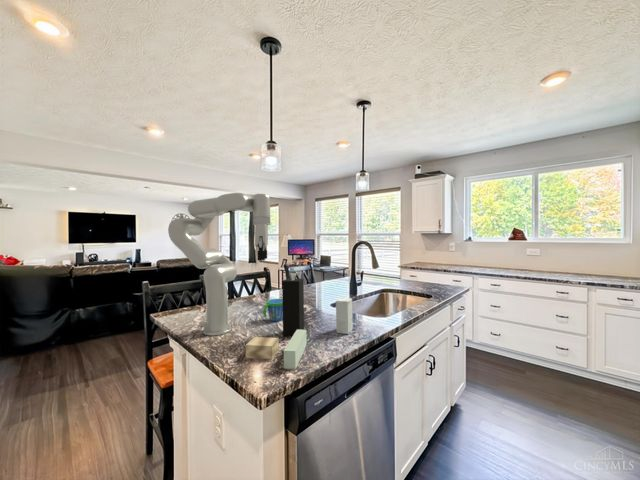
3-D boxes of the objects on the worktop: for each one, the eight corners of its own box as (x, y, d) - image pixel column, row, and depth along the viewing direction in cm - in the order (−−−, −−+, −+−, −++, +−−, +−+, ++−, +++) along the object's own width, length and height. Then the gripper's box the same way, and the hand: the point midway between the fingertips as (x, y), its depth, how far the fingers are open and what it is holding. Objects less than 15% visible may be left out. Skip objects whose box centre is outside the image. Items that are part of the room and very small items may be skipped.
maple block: (245, 358, 98) (245, 344, 98) (254, 349, 106) (254, 336, 106) (272, 359, 97) (271, 346, 97) (278, 350, 105) (278, 337, 105)
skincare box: (348, 334, 120) (348, 301, 120) (335, 333, 123) (335, 300, 122) (353, 328, 128) (352, 297, 128) (341, 327, 130) (340, 297, 130)
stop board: (283, 368, 90) (283, 350, 90) (297, 343, 110) (296, 329, 110) (295, 369, 89) (295, 351, 89) (306, 344, 110) (306, 329, 110)
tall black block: (299, 337, 118) (298, 273, 118) (282, 336, 119) (281, 273, 119) (304, 331, 125) (303, 271, 125) (288, 330, 127) (287, 271, 127)
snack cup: (268, 325, 135) (268, 305, 135) (258, 320, 143) (258, 301, 143) (294, 319, 145) (293, 300, 145) (283, 314, 153) (283, 297, 153)
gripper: (256, 222, 129) (256, 258, 129) (250, 220, 112) (251, 261, 112) (271, 222, 130) (272, 258, 130) (268, 220, 113) (269, 260, 113)
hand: (262, 259), depth 121 cm, fingers open, 9 cm apart
